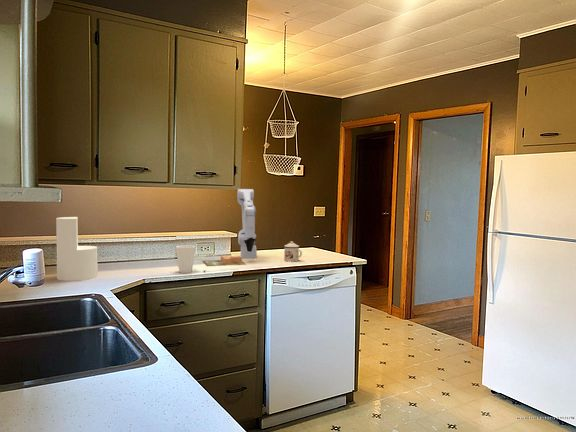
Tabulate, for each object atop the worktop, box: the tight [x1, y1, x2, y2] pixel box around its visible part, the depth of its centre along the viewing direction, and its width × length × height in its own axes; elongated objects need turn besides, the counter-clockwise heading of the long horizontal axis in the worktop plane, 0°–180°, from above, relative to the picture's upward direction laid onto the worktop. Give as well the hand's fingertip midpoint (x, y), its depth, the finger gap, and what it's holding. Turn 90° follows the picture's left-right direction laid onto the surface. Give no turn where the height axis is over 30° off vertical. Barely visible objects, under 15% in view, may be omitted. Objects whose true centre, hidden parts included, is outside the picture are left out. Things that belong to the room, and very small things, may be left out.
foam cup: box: [175, 244, 196, 274], centre depth 227 cm, size 10×9×13 cm
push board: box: [201, 259, 247, 267], centre depth 251 cm, size 22×20×1 cm
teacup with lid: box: [283, 241, 303, 262], centre depth 268 cm, size 12×9×12 cm
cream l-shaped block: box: [55, 216, 99, 282], centre depth 209 cm, size 17×17×28 cm
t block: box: [220, 255, 243, 264], centre depth 253 cm, size 10×12×3 cm
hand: (249, 251), depth 256 cm, fingers closed
